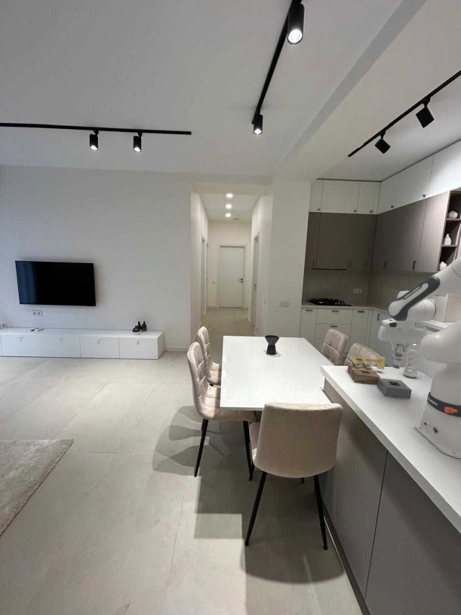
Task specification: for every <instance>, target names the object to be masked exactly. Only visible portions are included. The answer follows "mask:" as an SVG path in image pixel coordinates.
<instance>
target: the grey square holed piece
mask: <svg viewBox="0 0 461 615" xmlns="http://www.w3.org/2000/svg"><path fill="white" fill-rule="evenodd" d="M376 387H377V388H378V389H379V391H380V392H381V393H382V395H384V397H388V398H395V399H396V398H397V399H403V400H404V399H405V400H411V399H412V398H411V397H412V390H413V389H411V388H410V387H409V386H408V385H407V384H406V383H404V381H402V379H393V378H392V379H391V378H383V377H380V378H378V383H377V385H376Z"/></svg>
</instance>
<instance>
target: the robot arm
mask: <svg viewBox="0 0 461 615" xmlns="http://www.w3.org/2000/svg"><path fill="white" fill-rule="evenodd" d="M459 293H461V255H459V256H457V257H456V259H454V260H453V261H452V262H451V263H450V264H448V265H447V266H446V267H444V268H443V269H442V270H439V271H438V272H437V273H435V274H433V275H431V276H429V277H427V278H425V279H424V280H422V281H421V282H420V283H418V284H416V285H415V286H414V287H413V288H411V289H409V290H407V289H406V290H401V291H399V293H398V294H397V297H396V298H395V299H393V300H392V301H391V302H390V304H389V305H388V308H387V312H388V314H389V316H390V318H388V319H383V320H381V324H382V325H380V326H379V329H378V333H377V339H379V341H382V342H390V345H391V350H392V351H393V352H395V351H397V350H396V349H397V347H396V343H402V344H404V348H403V353H407V350H408V349H409V348H410V347H411V343H412V344H419V351H420V355H421V356H422V357H423V358H425V359H426V360H427V361H430V362H432V363H438V364H442V365H443V364H444V366H442V367H441V368H440V369H438V370H437V371H435V372H434V373H433V375H432V379H431V385H430V390H429V391H428V394H427V397H426V398H427V399H426V402H427V403H426V405H424V407H422V409H421V412H420V416H419V419H418V422H417V423H415V424H414V426H413V428H414V429H415V430H416V431H417V432H419V433H420V435H422V436H423V437H425V439H426V440H428V441H429V442H430V443H431V444H432V445H434V447H435V448H437V449H438V450H439V451H440V452H442V453H443V454H444V455H447V456H450V457H453V458H456V459H459V460H461V318H459V319H458V320H456V321H454V322H453V323H451V324H449V325H448V326H446V327H444V328H442V329H441V330H438V331H436V332H434V333H430V334H427V330H428V328H427V326H425V325H424V324H416V322H428V321H429V322H430V321H432V320H433V319H434V318H435V316H436V314H437V306H436V304H435V303H434V302H433V301H432V300H429V299H428V298H430V297H434V296H440V295H447V294H448V295H449V294H459Z"/></svg>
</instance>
